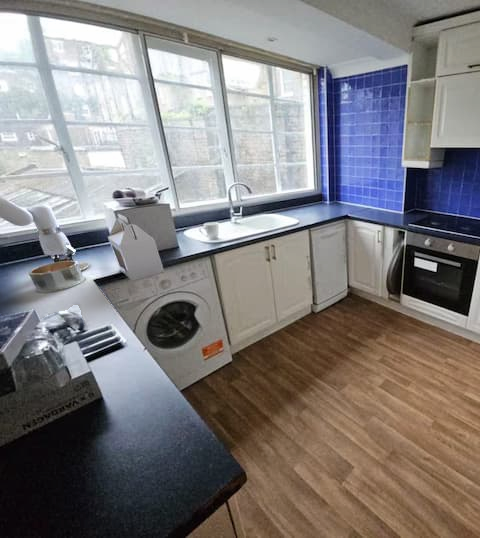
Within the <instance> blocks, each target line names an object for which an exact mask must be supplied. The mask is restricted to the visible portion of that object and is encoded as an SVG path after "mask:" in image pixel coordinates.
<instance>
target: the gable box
mask: <svg viewBox="0 0 480 538" xmlns="http://www.w3.org/2000/svg"><path fill="white" fill-rule="evenodd" d="M114 218H115V219H116V220H115V221H114V223H113V226H112V228H111V230H110V233H109V235H108V236H107V239H108V242H109V244H110V247H111V250H112V251H113V255H114V257H115V260H116V263H117V266H118V268H119V270H120V271H121V273H122V274H124V275H125V276H126V277H127V278H128V279H130V281H132V282H136V281H139V280H143V279H147V278H151V277H154V276H156V275H160V274H163V273H165V268H164V266H163V263H162V260H161V257H160V254H159V250H158V248H157V243H156V241H155V238H154V237H152V236H151V235H149V234H148V233H147V232H146V231H144V230H143V229H142V228H141V227H139V226H138V225H137V224H134V223H131V222H130V221H131V220H130V219H129V217H128V216H125V215H123V214H121V213H117V216H114Z"/></svg>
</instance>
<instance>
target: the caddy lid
mask: <svg viewBox="0 0 480 538" xmlns="http://www.w3.org/2000/svg"><path fill="white" fill-rule="evenodd" d="M59 258H60V259H59V261H60V262H61V261H66V258H65V257H59ZM77 263H78V265H79V268H80V270H81V271H83V270H86V269H87V268H89V267H90V263H89V262H77Z"/></svg>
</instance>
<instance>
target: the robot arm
mask: <svg viewBox="0 0 480 538" xmlns="http://www.w3.org/2000/svg"><path fill="white" fill-rule="evenodd" d="M0 219H2V220H4V221H7V222H8V223H10V224H12V225H14V226H17V227H26V226H29V225H31V224H32V223H34V226H35V227H36V232H37V233H39V235H38V240H39V243H40V246H41V249H42V252H43V253H42V254H43V255H44V256H46V257H48V258H50V260H52V261H53V263H55V262H60V261H59V259H60V258H61V257H59V255H63V257H64V258H66V261H74V259H73V258H74V256H75V254H76V253H77V250H76V249H74V247H72V245H71V243H70V241H69V239H68V237H67V236H66V234H65V233H64V232H63V231H62V228H61V227H60V225H59V222H58V220H57V218H56V216H55V213H54V211H53V208H52V207H51V205H49V204H34V205H30V206H20V205H17V204H16V203H13V202H12V201H10V200H8V199H7V198H5V197H4V196H2V195H0Z"/></svg>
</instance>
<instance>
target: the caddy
mask: <svg viewBox="0 0 480 538" xmlns="http://www.w3.org/2000/svg"><path fill="white" fill-rule="evenodd" d="M78 263H79V262H78V261H76V260H73V261H61V262H51V263H46V264H43V265H40V266H37V267H34V268H32V269H30V270H29V271H28V275H29V277H30V278H31V281H32V282H33V285H34V287H35V289H36V291H38V292H40V293H50V292H57V291H61V290H66V289H69V288H72V287H74V286H77V285H79V284H81V283H82V282H84V281H85V276H84V275H83V272H82V270H80V268H79V265H78Z"/></svg>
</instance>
